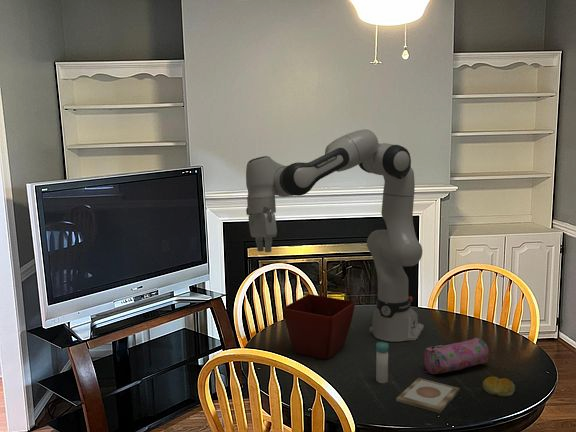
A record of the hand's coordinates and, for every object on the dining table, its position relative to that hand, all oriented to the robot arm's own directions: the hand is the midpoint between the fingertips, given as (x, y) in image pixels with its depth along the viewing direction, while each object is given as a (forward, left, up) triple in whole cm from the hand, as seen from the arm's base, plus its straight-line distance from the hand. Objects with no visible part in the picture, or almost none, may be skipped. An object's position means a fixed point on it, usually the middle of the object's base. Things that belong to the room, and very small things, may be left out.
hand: (264, 251), depth 191 cm
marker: (-13, +35, -40) cm, 54 cm away
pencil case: (-34, +51, -40) cm, 73 cm away
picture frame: (-11, +51, -40) cm, 65 cm away
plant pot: (-23, +6, -40) cm, 46 cm away
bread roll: (-26, +67, -40) cm, 82 cm away
